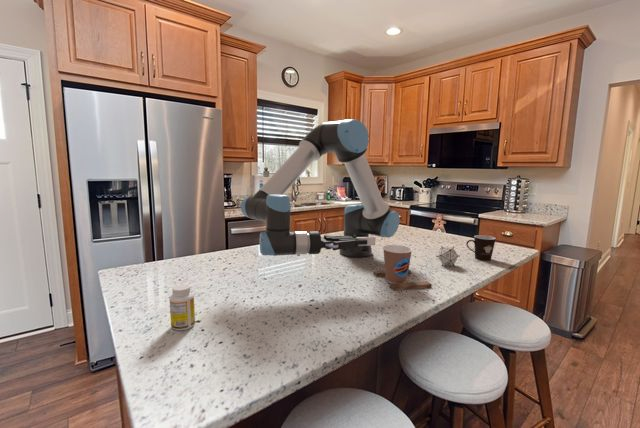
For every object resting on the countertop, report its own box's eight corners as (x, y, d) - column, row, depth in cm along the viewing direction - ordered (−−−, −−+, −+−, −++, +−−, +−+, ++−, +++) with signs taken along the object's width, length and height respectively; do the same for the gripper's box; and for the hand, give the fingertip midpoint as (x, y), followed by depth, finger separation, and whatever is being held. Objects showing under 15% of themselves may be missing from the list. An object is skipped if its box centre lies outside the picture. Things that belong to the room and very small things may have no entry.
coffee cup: (394, 287, 109) (395, 253, 107) (375, 278, 118) (376, 246, 116) (416, 283, 113) (418, 250, 112) (397, 274, 122) (398, 243, 121)
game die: (448, 272, 137) (460, 253, 138) (454, 271, 128) (467, 251, 130) (429, 260, 138) (441, 241, 140) (434, 259, 130) (447, 238, 132)
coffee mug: (493, 257, 147) (495, 236, 146) (494, 262, 140) (496, 240, 138) (465, 254, 152) (467, 233, 151) (465, 259, 144) (466, 237, 143)
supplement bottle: (188, 318, 84) (186, 281, 83) (199, 325, 81) (197, 286, 79) (167, 326, 80) (164, 287, 79) (177, 334, 77) (175, 293, 75)
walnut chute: (393, 290, 106) (393, 287, 106) (373, 273, 122) (373, 270, 122) (431, 287, 109) (431, 284, 109) (406, 271, 126) (406, 268, 126)
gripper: (303, 249, 112) (366, 247, 118) (311, 259, 99) (381, 256, 105) (304, 227, 111) (367, 227, 117) (312, 235, 98) (383, 234, 104)
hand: (374, 241), depth 111 cm, fingers closed
